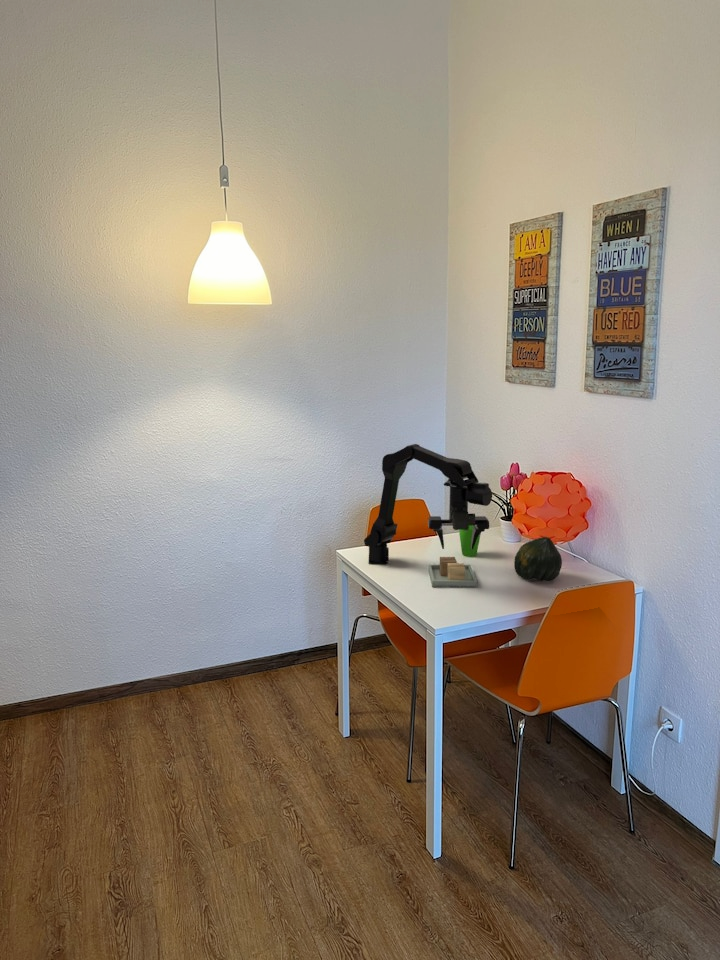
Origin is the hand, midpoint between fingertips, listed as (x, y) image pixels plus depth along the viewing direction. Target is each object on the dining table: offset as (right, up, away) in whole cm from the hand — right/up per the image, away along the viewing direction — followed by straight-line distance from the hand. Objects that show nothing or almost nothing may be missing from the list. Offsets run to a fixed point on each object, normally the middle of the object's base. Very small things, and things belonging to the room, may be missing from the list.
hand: (457, 548), depth 221 cm
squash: (+27, -10, +6) cm, 30 cm away
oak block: (0, -10, +2) cm, 11 cm away
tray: (-1, -10, +6) cm, 12 cm away
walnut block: (-2, -9, +9) cm, 13 cm away
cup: (+8, -5, +30) cm, 32 cm away
